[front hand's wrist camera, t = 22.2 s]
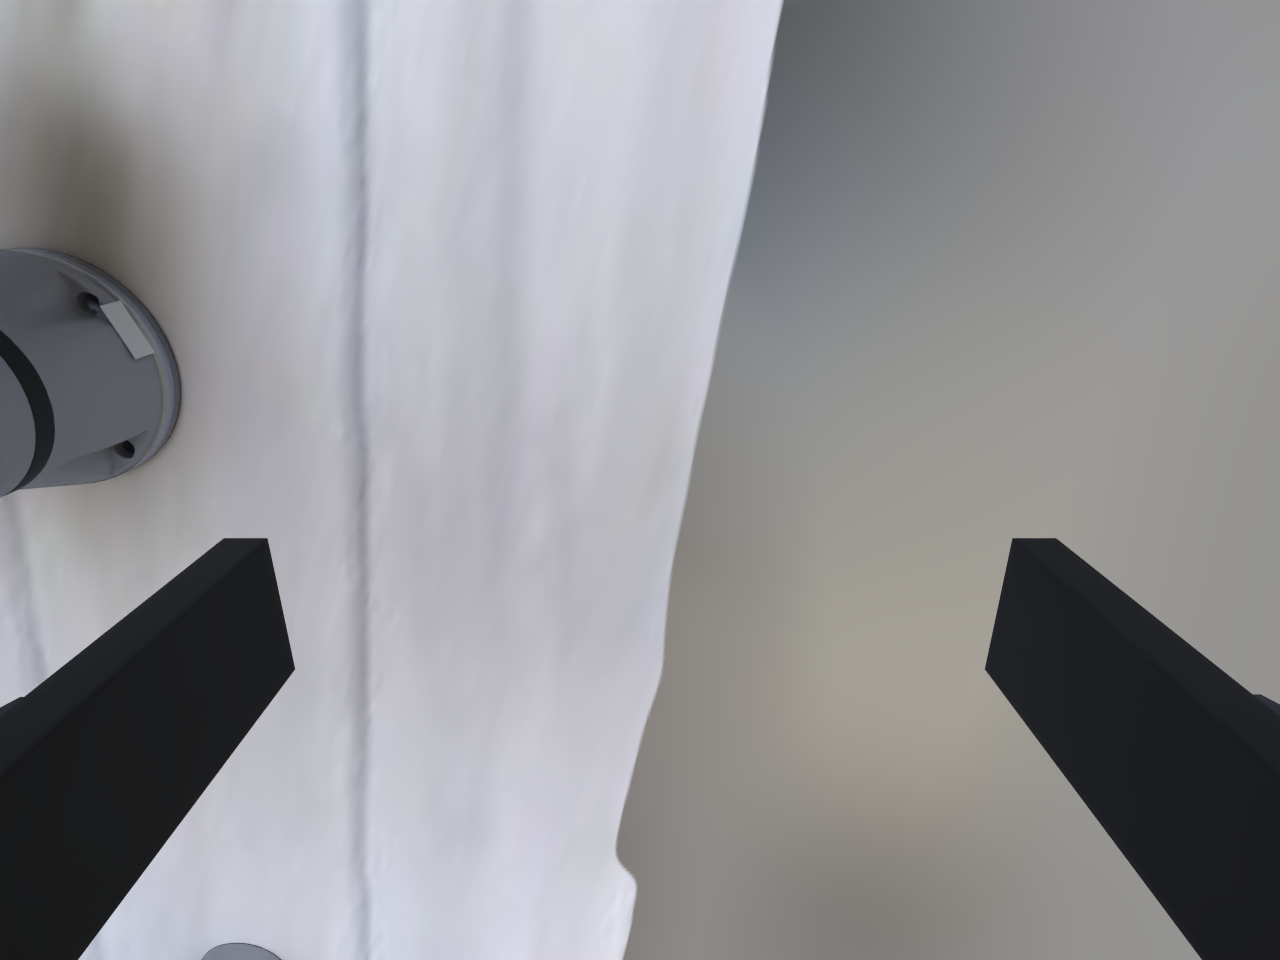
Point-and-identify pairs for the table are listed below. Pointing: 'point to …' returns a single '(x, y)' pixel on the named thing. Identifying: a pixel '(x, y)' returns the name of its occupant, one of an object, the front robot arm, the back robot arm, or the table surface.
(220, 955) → the tin
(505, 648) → the table surface
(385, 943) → the table surface
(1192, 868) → the front robot arm
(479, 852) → the table surface
